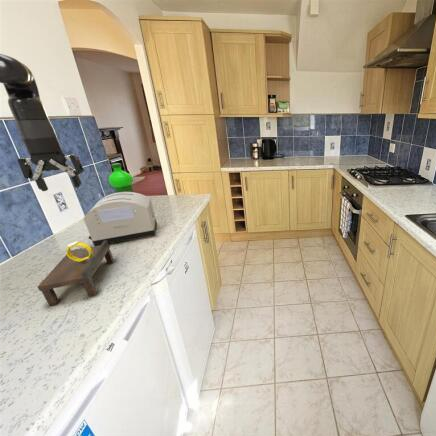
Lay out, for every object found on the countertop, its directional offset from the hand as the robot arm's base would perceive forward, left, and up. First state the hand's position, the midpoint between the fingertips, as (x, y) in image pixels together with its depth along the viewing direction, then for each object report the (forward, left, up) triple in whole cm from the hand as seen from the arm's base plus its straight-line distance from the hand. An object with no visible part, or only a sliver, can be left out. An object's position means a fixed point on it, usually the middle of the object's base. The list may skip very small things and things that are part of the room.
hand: (61, 188), depth 78 cm
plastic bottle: (+3, +52, -26) cm, 58 cm away
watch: (+6, -16, -19) cm, 26 cm away
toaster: (+9, +20, -26) cm, 34 cm away
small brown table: (+4, -16, -26) cm, 31 cm away
